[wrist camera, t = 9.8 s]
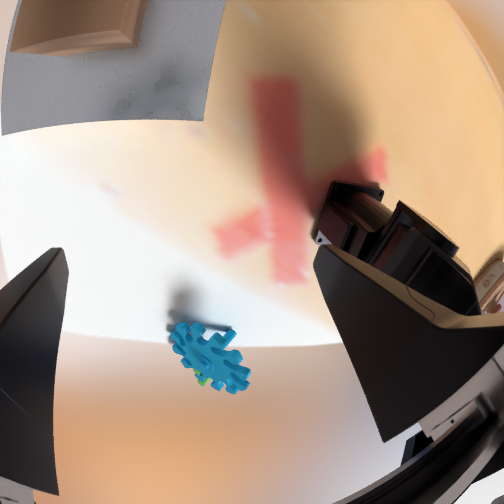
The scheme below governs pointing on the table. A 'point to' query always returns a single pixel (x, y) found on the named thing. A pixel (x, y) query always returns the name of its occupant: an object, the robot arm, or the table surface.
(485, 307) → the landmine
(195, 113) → the base plate
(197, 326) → the blue spiky blob
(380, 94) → the table surface
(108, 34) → the walnut block
